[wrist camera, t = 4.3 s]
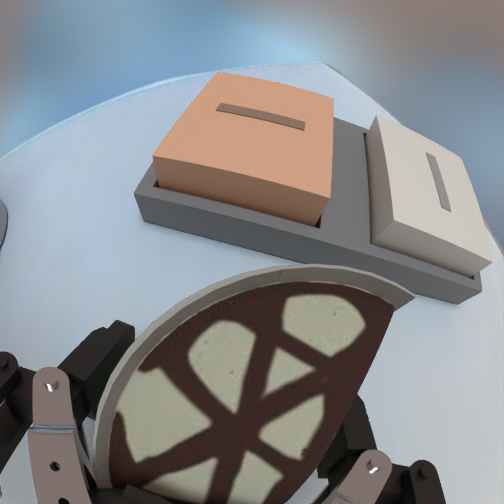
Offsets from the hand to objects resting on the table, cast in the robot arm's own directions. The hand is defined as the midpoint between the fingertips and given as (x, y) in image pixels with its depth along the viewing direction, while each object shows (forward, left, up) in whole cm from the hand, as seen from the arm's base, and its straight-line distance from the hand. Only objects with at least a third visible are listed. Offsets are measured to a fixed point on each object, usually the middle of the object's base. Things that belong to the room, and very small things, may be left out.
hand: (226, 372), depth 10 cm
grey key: (+12, +15, -3) cm, 20 cm away
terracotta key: (-2, +15, -3) cm, 16 cm away
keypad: (+5, +15, -5) cm, 17 cm away
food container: (0, -1, -5) cm, 6 cm away
